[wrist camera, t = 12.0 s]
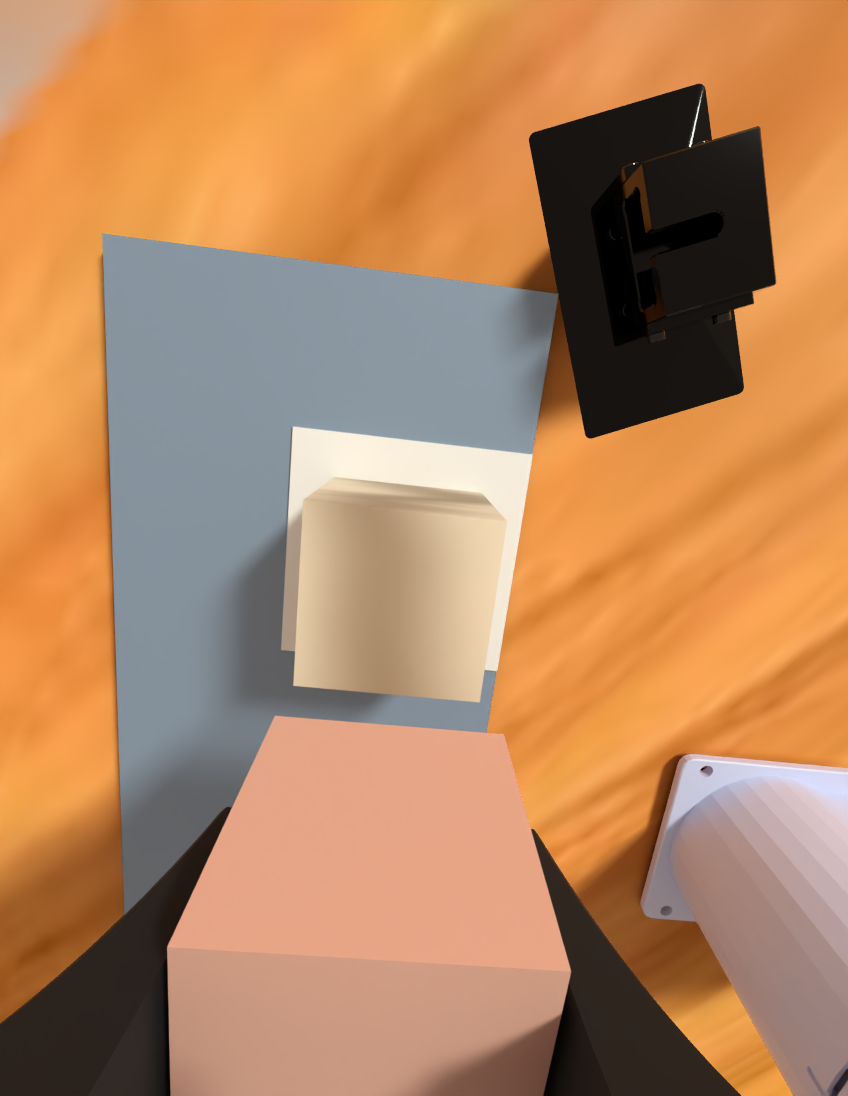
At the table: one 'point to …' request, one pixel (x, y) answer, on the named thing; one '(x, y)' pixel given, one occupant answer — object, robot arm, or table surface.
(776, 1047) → the robot arm
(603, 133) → the build plate
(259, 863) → the terracotta cube
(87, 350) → the table surface
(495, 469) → the board
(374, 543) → the maple cube
